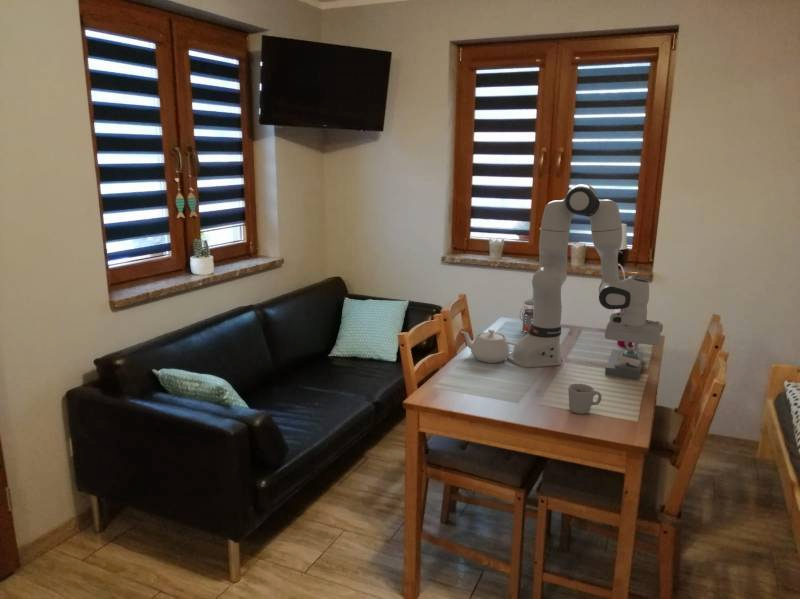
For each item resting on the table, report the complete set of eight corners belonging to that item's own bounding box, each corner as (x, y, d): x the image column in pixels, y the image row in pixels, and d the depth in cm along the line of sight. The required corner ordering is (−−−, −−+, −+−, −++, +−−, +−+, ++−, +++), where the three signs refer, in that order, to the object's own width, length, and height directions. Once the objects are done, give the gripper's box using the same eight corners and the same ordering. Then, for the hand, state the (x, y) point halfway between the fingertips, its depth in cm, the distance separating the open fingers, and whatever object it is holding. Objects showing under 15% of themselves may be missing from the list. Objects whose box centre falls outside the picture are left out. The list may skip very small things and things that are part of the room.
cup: (595, 406, 198) (597, 383, 196) (604, 416, 191) (606, 392, 189) (563, 406, 198) (565, 383, 196) (570, 416, 190) (573, 392, 188)
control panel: (638, 380, 222) (640, 364, 220) (604, 374, 227) (606, 359, 225) (642, 360, 243) (644, 346, 242) (611, 356, 248) (613, 342, 246)
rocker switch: (638, 368, 223) (639, 364, 222) (616, 362, 226) (617, 358, 225) (639, 364, 227) (640, 360, 226) (617, 359, 230) (618, 354, 229)
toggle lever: (633, 354, 239) (640, 341, 237) (628, 352, 240) (635, 339, 238) (633, 353, 241) (640, 340, 239) (629, 350, 241) (635, 338, 239)
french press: (545, 331, 281) (549, 280, 275) (527, 335, 275) (530, 282, 270) (531, 326, 289) (534, 276, 283) (513, 329, 284) (516, 278, 278)
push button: (635, 362, 231) (635, 355, 230) (622, 360, 232) (623, 353, 232) (635, 359, 234) (636, 351, 234) (624, 357, 236) (624, 350, 236)
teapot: (523, 359, 244) (525, 330, 241) (510, 369, 230) (512, 339, 228) (467, 348, 256) (468, 321, 253) (452, 358, 243) (453, 329, 240)
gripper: (663, 319, 228) (659, 354, 231) (607, 313, 236) (604, 346, 239) (663, 323, 222) (659, 359, 226) (605, 317, 231) (602, 351, 234)
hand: (630, 352), depth 233 cm, fingers closed, pressing on push button
